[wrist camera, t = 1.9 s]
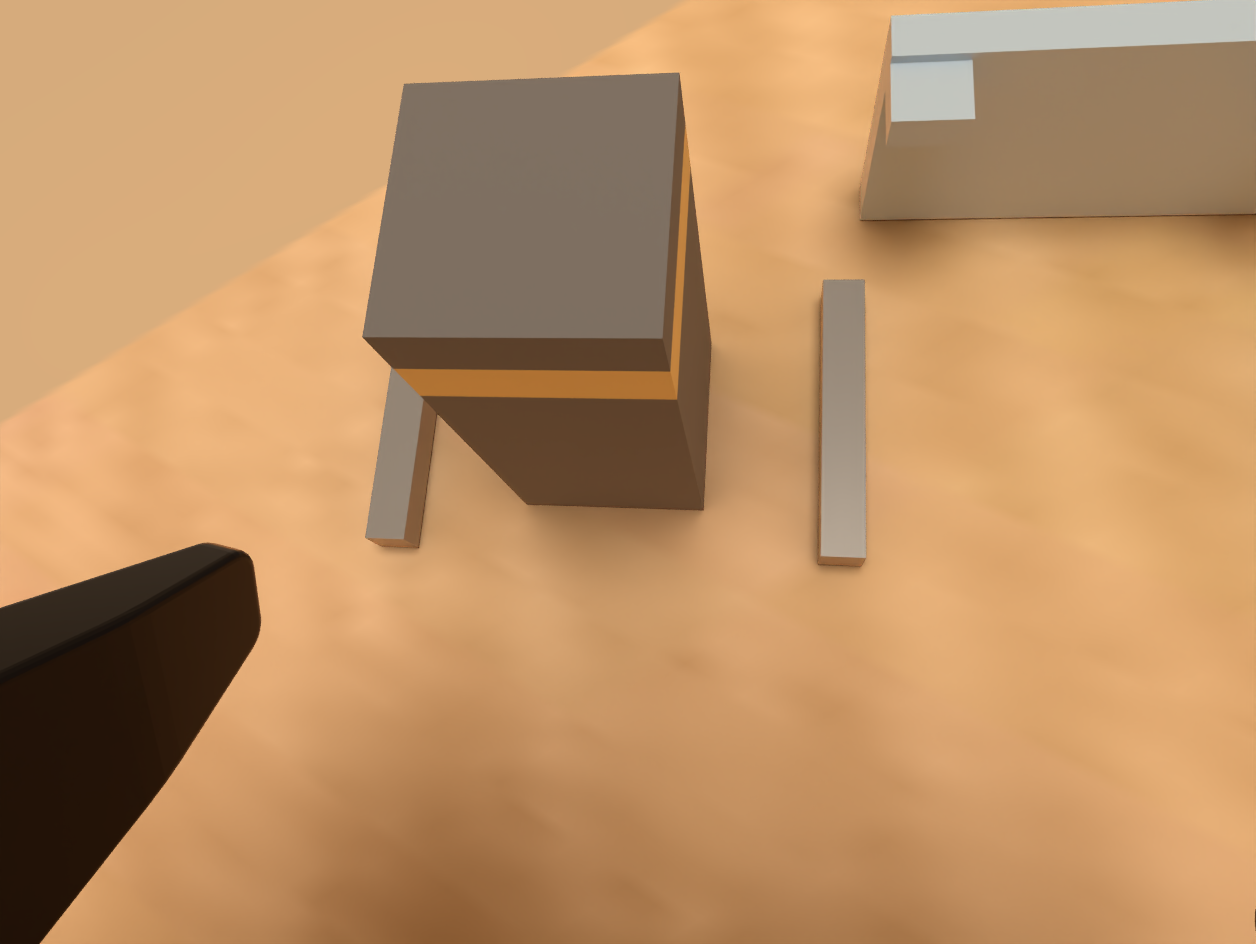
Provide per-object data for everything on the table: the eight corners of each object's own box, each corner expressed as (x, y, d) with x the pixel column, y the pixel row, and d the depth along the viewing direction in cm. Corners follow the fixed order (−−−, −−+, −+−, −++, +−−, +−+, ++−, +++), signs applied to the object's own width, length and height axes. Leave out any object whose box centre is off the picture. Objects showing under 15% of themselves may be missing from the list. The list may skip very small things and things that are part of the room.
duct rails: (1380, 587, 20) (1635, 525, 14) (381, 546, 23) (257, 482, 17) (1312, 177, 22) (1501, -14, 17) (433, 196, 26) (341, 42, 20)
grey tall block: (703, 510, 22) (662, 338, 13) (527, 504, 23) (362, 337, 13) (711, 342, 23) (678, 72, 14) (543, 342, 24) (403, 83, 15)
